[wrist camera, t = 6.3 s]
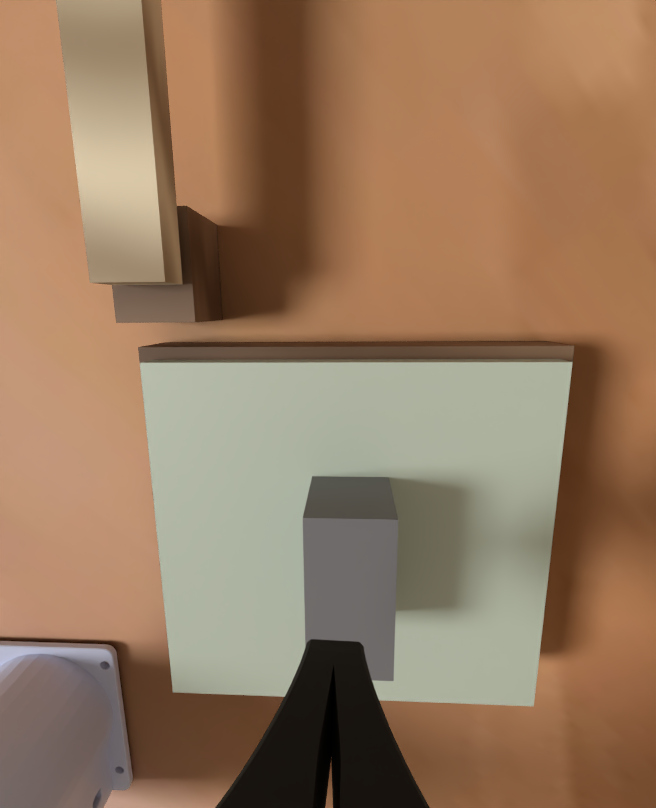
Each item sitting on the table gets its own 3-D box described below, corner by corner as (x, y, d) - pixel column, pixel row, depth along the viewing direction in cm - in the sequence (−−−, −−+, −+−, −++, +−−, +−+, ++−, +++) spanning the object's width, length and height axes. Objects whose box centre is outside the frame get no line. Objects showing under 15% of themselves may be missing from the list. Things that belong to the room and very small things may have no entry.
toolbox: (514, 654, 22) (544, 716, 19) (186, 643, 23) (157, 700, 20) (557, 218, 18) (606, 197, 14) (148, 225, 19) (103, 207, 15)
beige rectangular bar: (182, 284, 15) (164, 281, 14) (114, 285, 16) (90, 282, 14) (150, -134, 13) (125, -190, 11) (69, -129, 13) (34, -184, 12)
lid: (524, 686, 20) (573, 793, 15) (181, 674, 21) (135, 772, 16) (559, 358, 17) (634, 377, 12) (151, 359, 17) (84, 376, 13)
